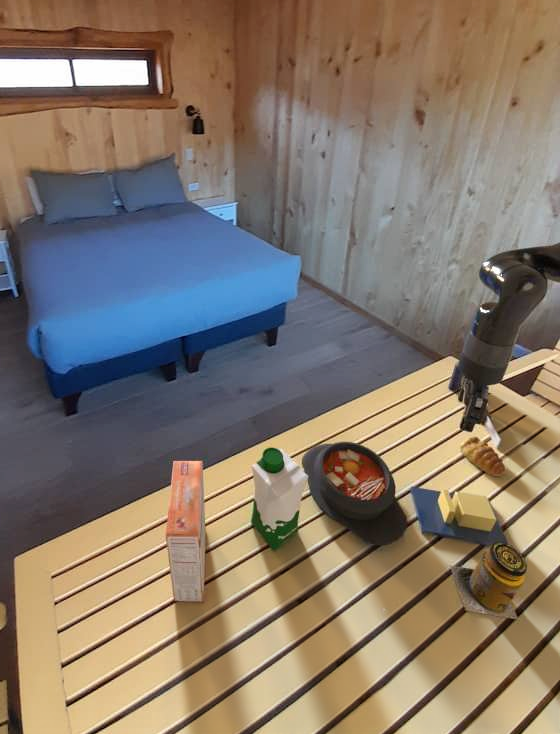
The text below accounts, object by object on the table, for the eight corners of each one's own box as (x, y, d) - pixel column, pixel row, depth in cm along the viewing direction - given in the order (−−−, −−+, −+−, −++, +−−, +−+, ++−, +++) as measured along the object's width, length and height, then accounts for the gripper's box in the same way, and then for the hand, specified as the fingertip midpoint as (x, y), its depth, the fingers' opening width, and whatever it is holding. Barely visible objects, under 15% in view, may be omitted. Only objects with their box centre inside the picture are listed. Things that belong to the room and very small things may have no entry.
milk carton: (274, 499, 90) (281, 437, 81) (304, 533, 83) (315, 469, 74) (244, 521, 86) (247, 458, 77) (273, 559, 79) (280, 495, 70)
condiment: (517, 619, 70) (543, 582, 64) (465, 611, 71) (485, 573, 66) (497, 573, 76) (518, 536, 71) (449, 566, 78) (466, 529, 72)
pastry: (510, 472, 95) (516, 461, 93) (490, 482, 93) (495, 471, 91) (474, 442, 103) (478, 431, 101) (454, 450, 101) (458, 439, 99)
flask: (456, 373, 126) (466, 346, 121) (467, 378, 124) (477, 350, 119) (446, 388, 120) (455, 360, 115) (456, 393, 118) (467, 365, 113)
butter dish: (487, 502, 89) (494, 487, 86) (508, 549, 80) (516, 534, 78) (409, 489, 92) (414, 474, 90) (421, 533, 83) (427, 518, 81)
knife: (473, 409, 112) (476, 401, 111) (480, 410, 112) (484, 402, 111) (492, 448, 101) (496, 439, 100) (501, 449, 101) (505, 441, 99)
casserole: (426, 525, 85) (435, 500, 81) (360, 568, 77) (368, 543, 74) (341, 438, 105) (345, 415, 101) (282, 466, 98) (285, 442, 94)
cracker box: (178, 525, 86) (172, 458, 76) (206, 525, 85) (204, 459, 76) (171, 602, 73) (163, 534, 64) (204, 604, 73) (201, 536, 63)
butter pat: (443, 501, 88) (448, 490, 86) (451, 524, 84) (456, 512, 82) (437, 500, 88) (442, 488, 86) (444, 523, 84) (449, 511, 82)
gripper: (514, 383, 70) (488, 447, 77) (504, 338, 81) (482, 398, 89) (464, 371, 73) (444, 433, 81) (461, 330, 85) (443, 388, 92)
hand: (464, 415), depth 85 cm, fingers open, 8 cm apart
